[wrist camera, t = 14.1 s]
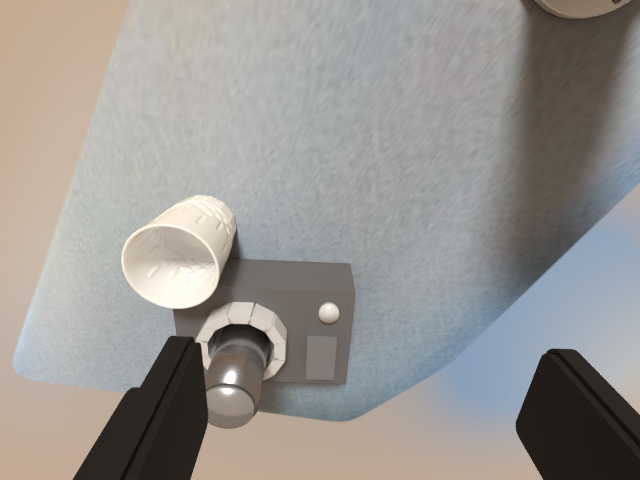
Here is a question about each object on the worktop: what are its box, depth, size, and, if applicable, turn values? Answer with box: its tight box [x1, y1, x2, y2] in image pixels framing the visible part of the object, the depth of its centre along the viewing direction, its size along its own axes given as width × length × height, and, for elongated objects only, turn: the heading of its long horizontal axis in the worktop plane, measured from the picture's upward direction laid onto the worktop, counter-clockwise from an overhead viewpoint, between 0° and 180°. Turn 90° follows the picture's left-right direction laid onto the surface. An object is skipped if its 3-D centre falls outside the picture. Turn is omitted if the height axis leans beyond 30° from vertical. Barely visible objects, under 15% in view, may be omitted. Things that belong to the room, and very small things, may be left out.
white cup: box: [121, 195, 237, 309], centre depth 34 cm, size 8×8×10 cm
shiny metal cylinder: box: [205, 324, 270, 429], centre depth 33 cm, size 5×5×9 cm
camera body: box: [173, 259, 356, 384], centre depth 39 cm, size 18×12×8 cm, turn 87°
